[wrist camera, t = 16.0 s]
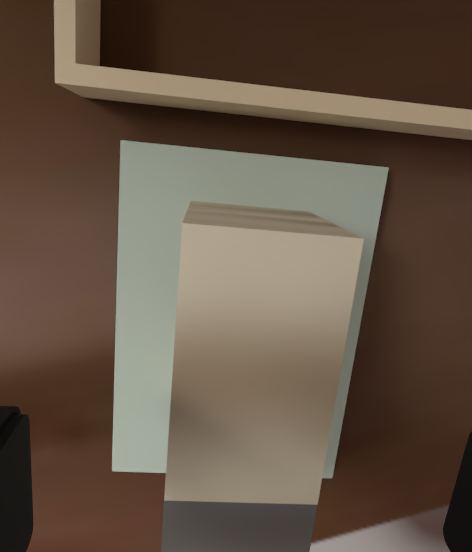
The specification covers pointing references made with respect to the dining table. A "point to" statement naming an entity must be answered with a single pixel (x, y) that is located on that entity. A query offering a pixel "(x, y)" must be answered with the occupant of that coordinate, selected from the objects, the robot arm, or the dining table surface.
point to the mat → (166, 259)
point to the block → (254, 375)
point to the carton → (228, 88)
